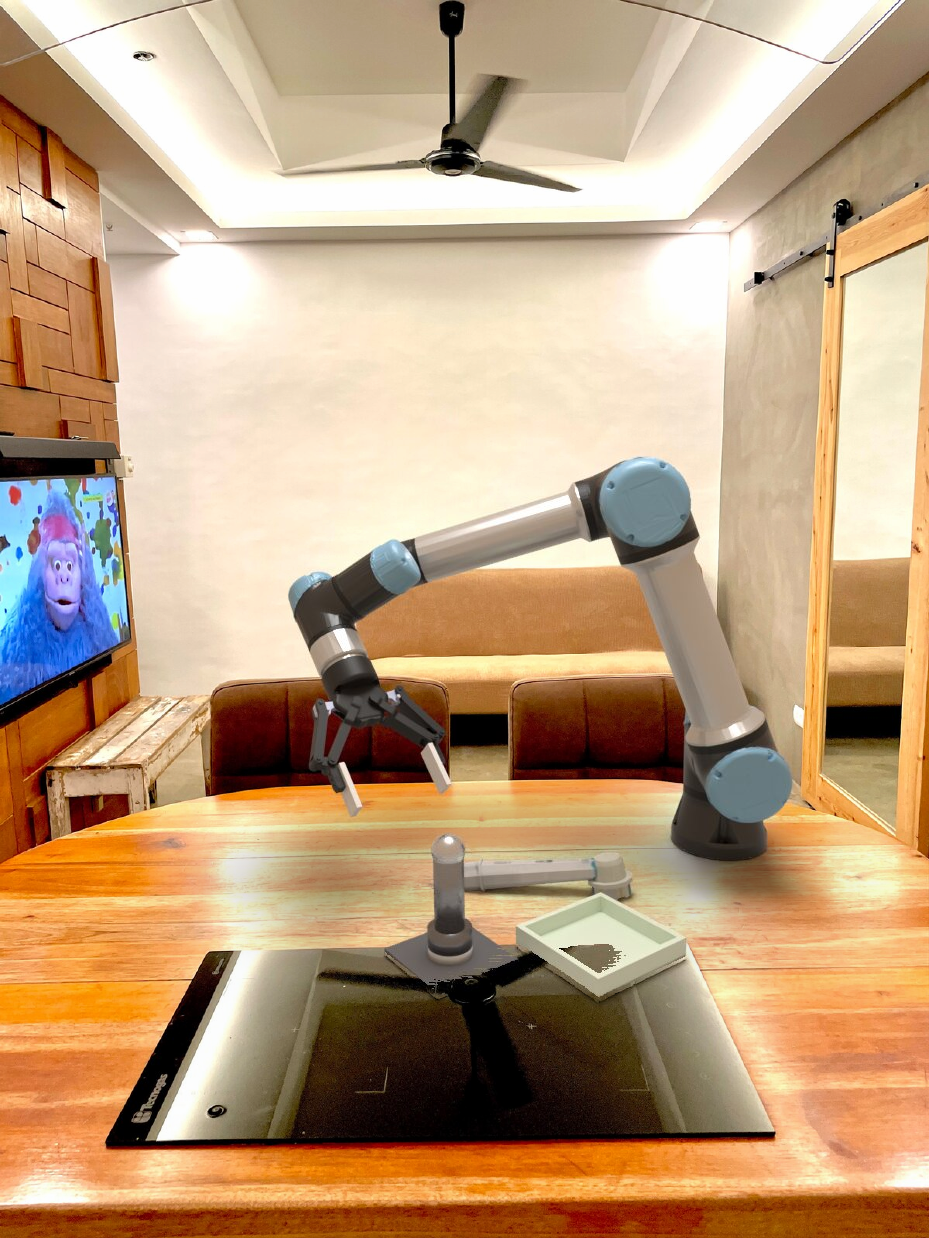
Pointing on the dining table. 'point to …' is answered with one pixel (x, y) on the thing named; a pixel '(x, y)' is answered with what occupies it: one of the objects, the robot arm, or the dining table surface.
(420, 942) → the stud plate
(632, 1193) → the dining table surface
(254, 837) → the dining table surface
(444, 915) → the domed glass cylinder
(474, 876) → the grey long rounded piece
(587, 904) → the tray
